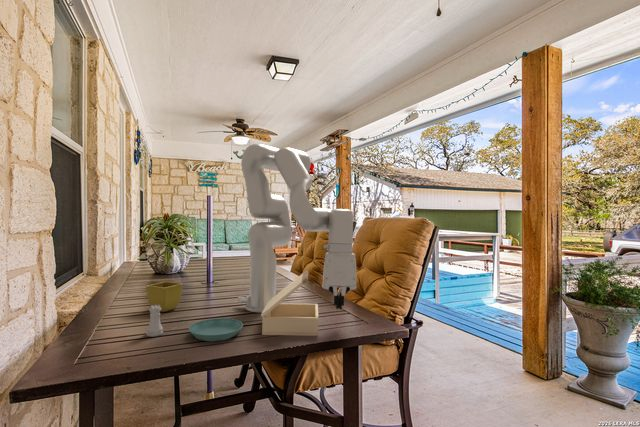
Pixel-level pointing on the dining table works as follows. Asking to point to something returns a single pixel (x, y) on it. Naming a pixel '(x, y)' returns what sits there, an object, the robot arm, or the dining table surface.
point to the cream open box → (291, 320)
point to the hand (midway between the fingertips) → (338, 307)
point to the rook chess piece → (154, 322)
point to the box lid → (285, 292)
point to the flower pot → (164, 295)
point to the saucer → (216, 329)
